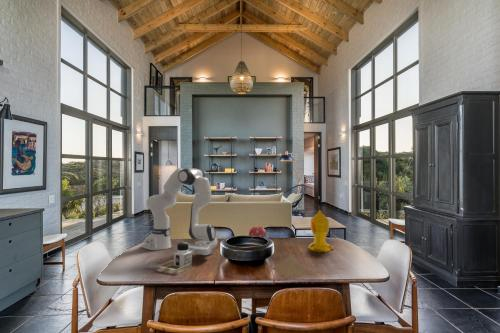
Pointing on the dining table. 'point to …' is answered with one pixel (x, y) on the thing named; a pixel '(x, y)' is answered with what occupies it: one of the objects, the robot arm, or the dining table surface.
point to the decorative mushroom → (257, 231)
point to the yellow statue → (319, 233)
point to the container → (182, 255)
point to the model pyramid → (290, 267)
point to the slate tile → (152, 266)
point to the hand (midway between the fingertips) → (187, 252)
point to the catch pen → (169, 270)
